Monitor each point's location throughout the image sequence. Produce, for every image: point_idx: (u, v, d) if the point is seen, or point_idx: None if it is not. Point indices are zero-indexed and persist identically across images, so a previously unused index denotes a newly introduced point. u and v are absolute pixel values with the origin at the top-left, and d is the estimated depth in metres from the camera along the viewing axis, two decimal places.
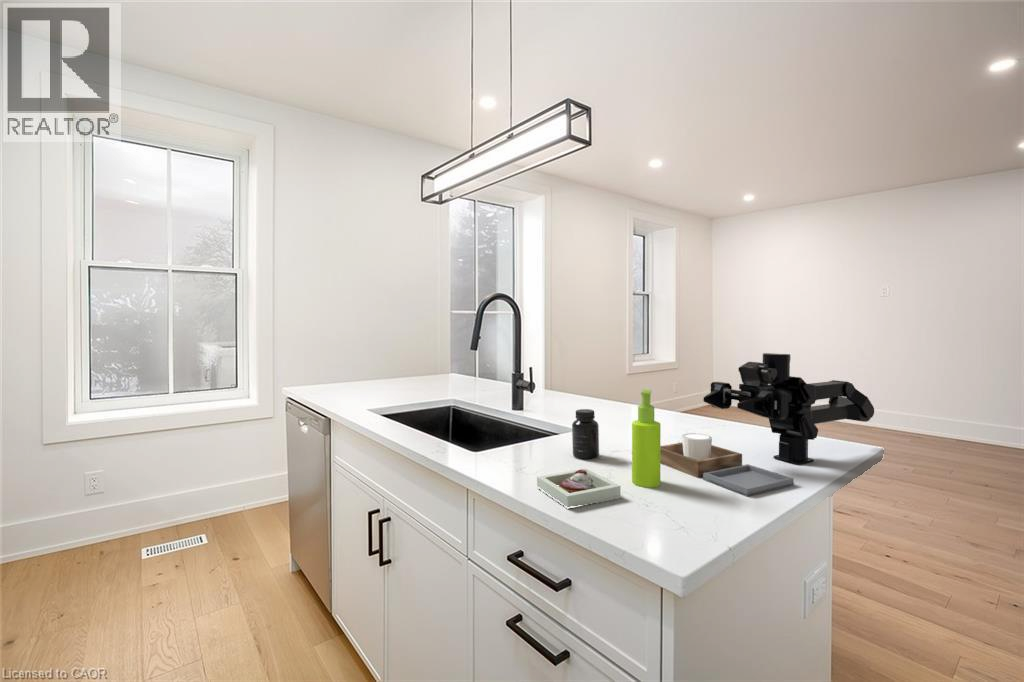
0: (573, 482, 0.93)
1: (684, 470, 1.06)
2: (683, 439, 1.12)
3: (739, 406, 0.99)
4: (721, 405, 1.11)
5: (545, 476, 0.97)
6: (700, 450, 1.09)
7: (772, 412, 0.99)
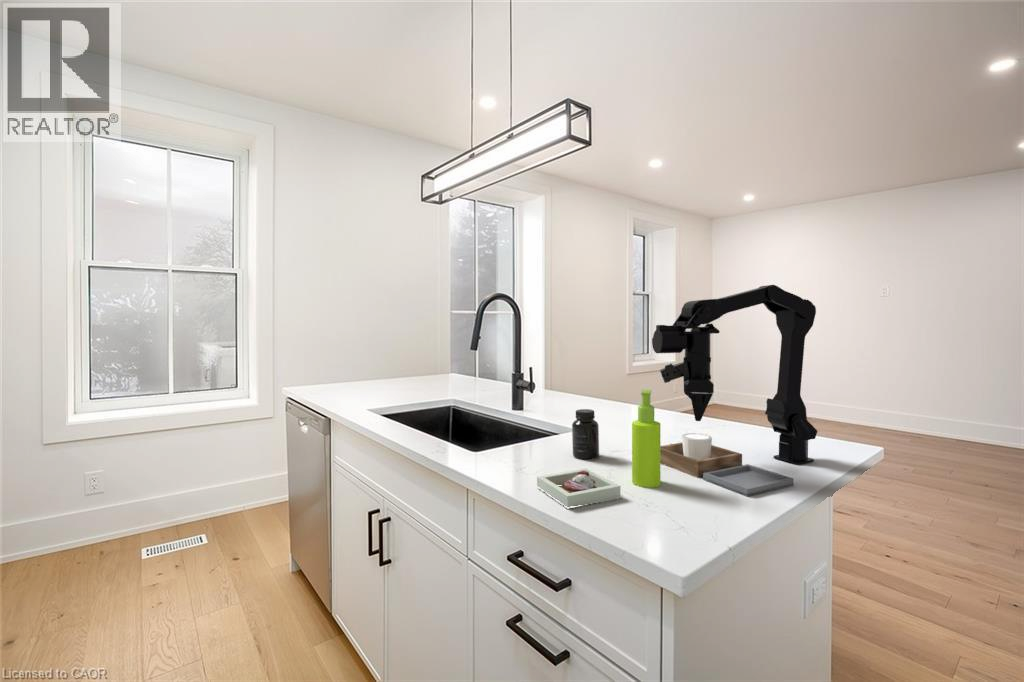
0: (575, 483, 0.92)
1: (684, 470, 1.06)
2: (683, 439, 1.12)
3: (698, 420, 1.07)
4: None
5: (545, 476, 0.97)
6: (700, 450, 1.09)
7: (705, 395, 1.03)
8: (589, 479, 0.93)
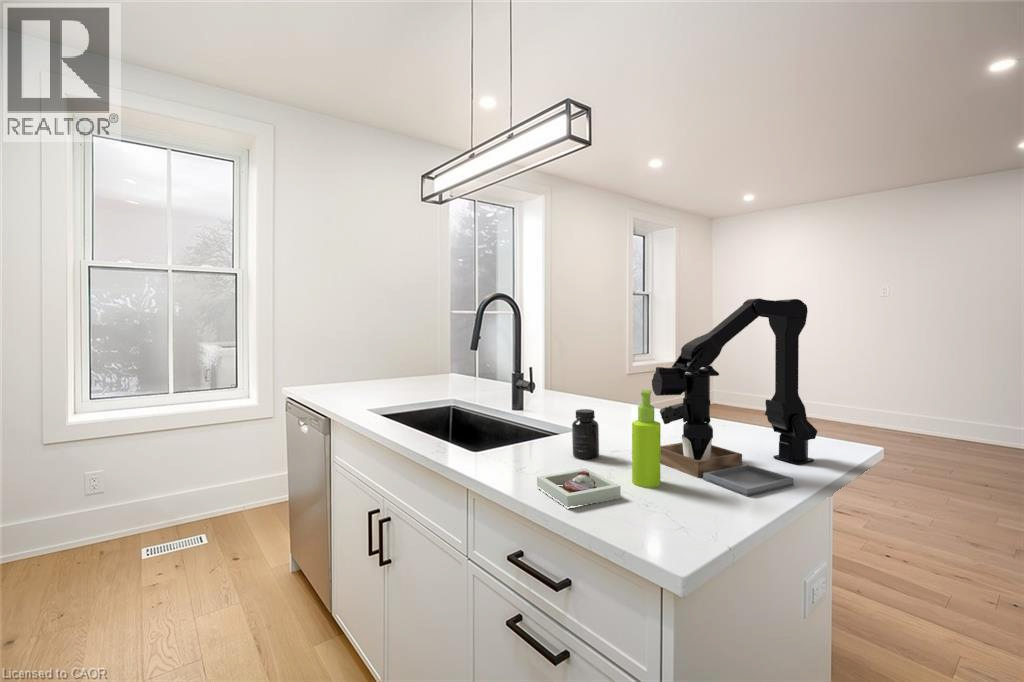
0: (576, 484, 0.92)
1: (684, 470, 1.06)
2: (683, 439, 1.12)
3: None
4: None
5: (545, 476, 0.97)
6: None
7: (704, 438, 1.05)
8: (589, 480, 0.92)
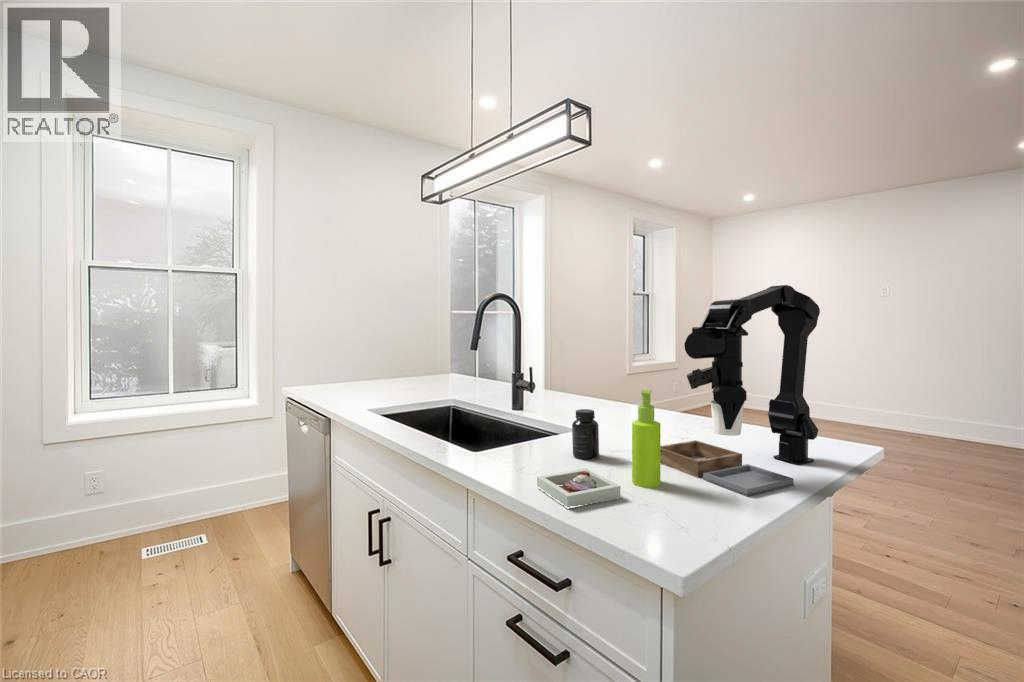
0: (576, 484, 0.92)
1: (684, 470, 1.06)
2: (712, 405, 1.04)
3: (729, 428, 1.01)
4: None
5: (545, 476, 0.97)
6: None
7: (737, 402, 0.97)
8: (590, 480, 0.92)
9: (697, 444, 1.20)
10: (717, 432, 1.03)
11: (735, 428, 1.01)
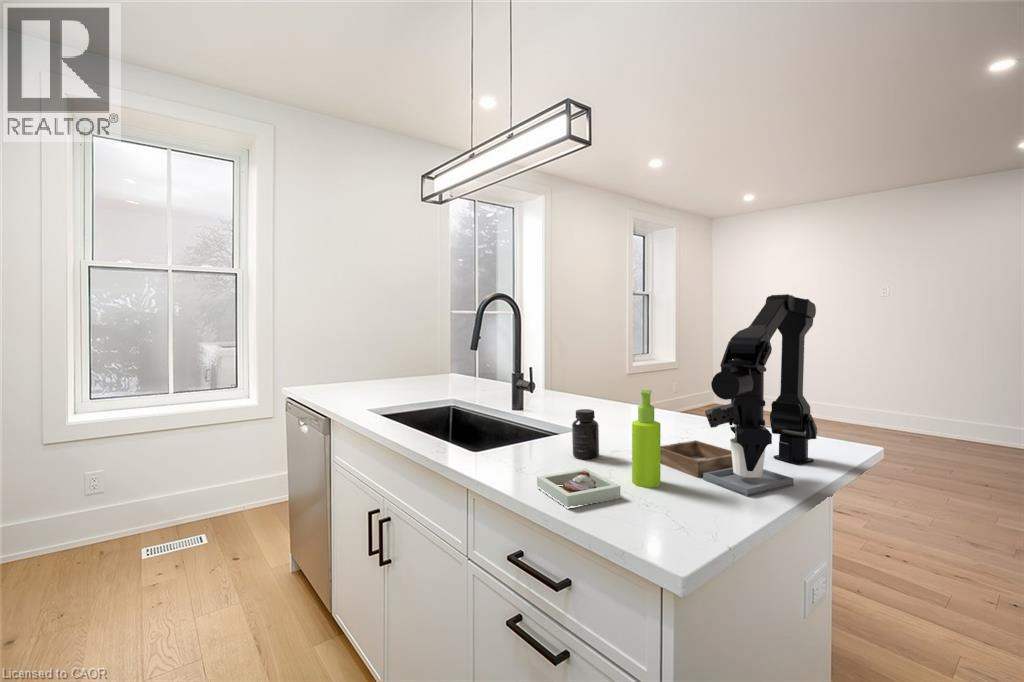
0: (576, 484, 0.92)
1: (684, 470, 1.06)
2: (732, 444, 0.99)
3: (750, 470, 0.96)
4: None
5: (545, 476, 0.97)
6: None
7: (760, 444, 0.92)
8: (589, 480, 0.92)
9: (697, 444, 1.20)
10: (738, 473, 0.98)
11: (757, 470, 0.97)
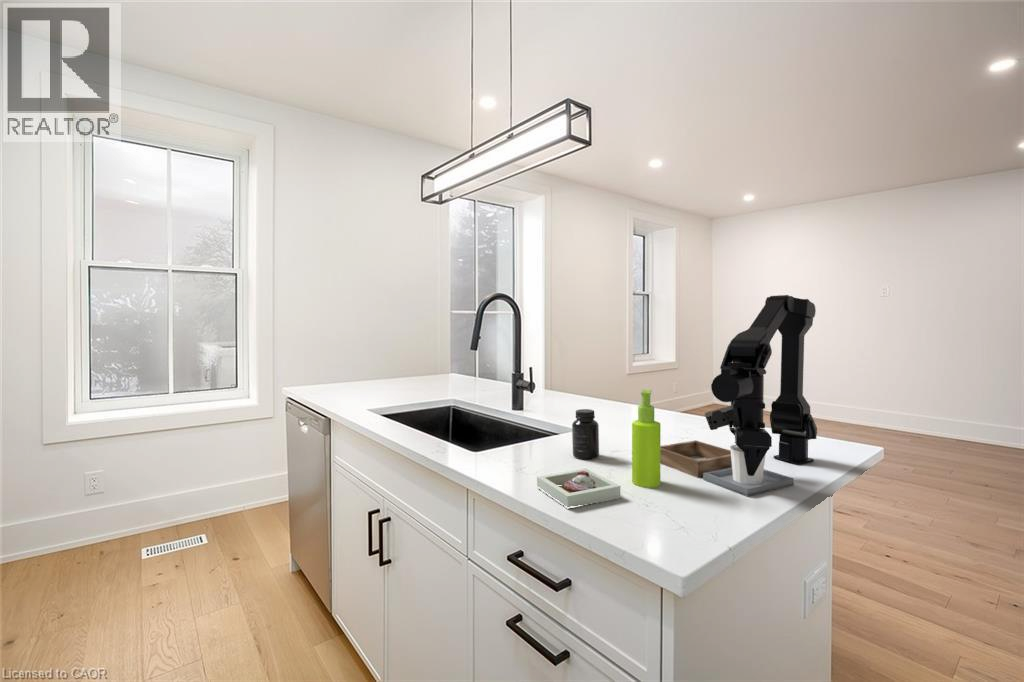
0: (575, 484, 0.92)
1: (684, 470, 1.06)
2: (732, 451, 0.99)
3: (751, 475, 0.95)
4: None
5: (545, 476, 0.97)
6: None
7: (761, 449, 0.91)
8: (589, 480, 0.92)
9: (697, 444, 1.20)
10: (738, 480, 0.98)
11: (757, 477, 0.97)
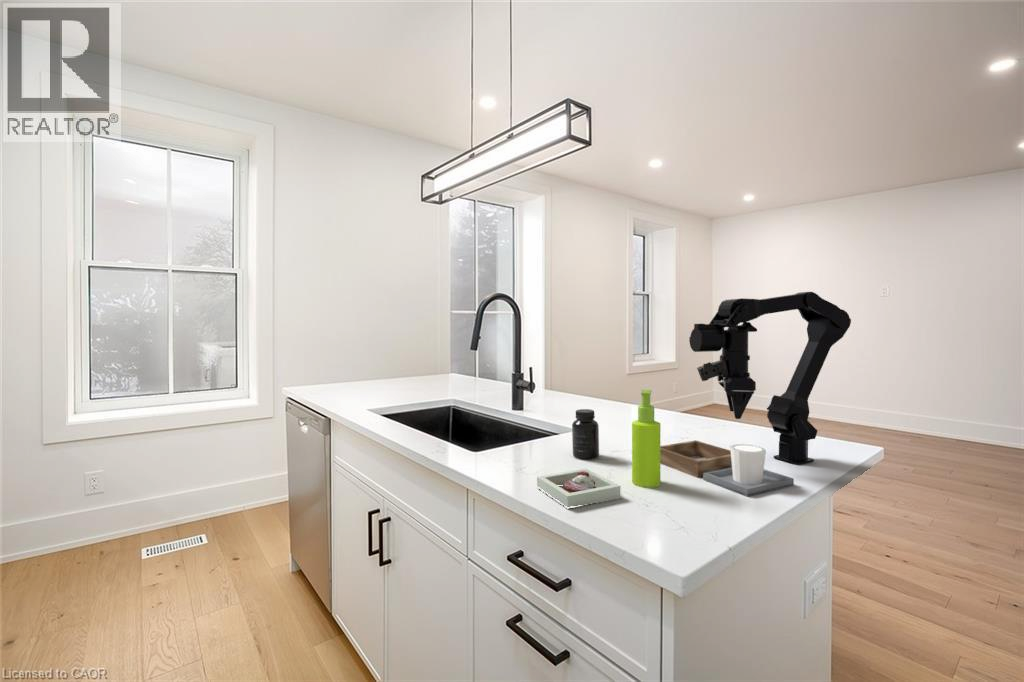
0: (575, 484, 0.92)
1: (684, 470, 1.06)
2: (732, 451, 0.99)
3: (738, 418, 1.08)
4: None
5: (545, 476, 0.97)
6: (753, 464, 0.96)
7: (747, 393, 1.04)
8: (589, 480, 0.92)
9: (697, 444, 1.20)
10: (738, 480, 0.98)
11: (757, 477, 0.97)
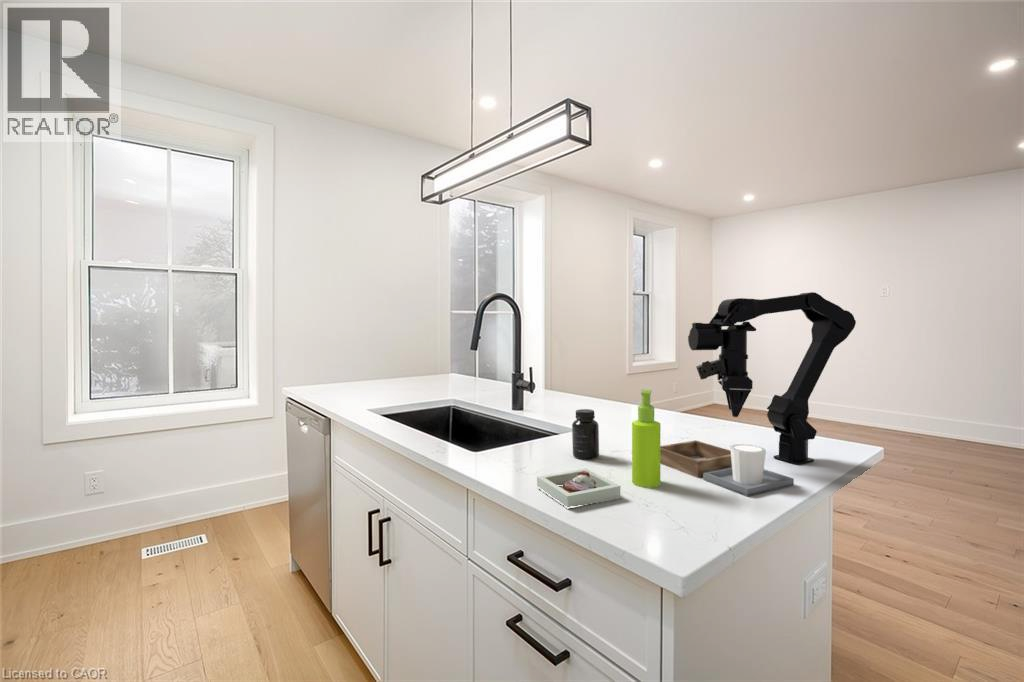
0: (576, 484, 0.92)
1: (684, 470, 1.06)
2: (732, 451, 0.99)
3: (736, 416, 1.09)
4: None
5: (545, 476, 0.97)
6: (753, 464, 0.96)
7: (744, 391, 1.06)
8: (589, 480, 0.92)
9: (697, 444, 1.20)
10: (738, 480, 0.98)
11: (757, 477, 0.97)
